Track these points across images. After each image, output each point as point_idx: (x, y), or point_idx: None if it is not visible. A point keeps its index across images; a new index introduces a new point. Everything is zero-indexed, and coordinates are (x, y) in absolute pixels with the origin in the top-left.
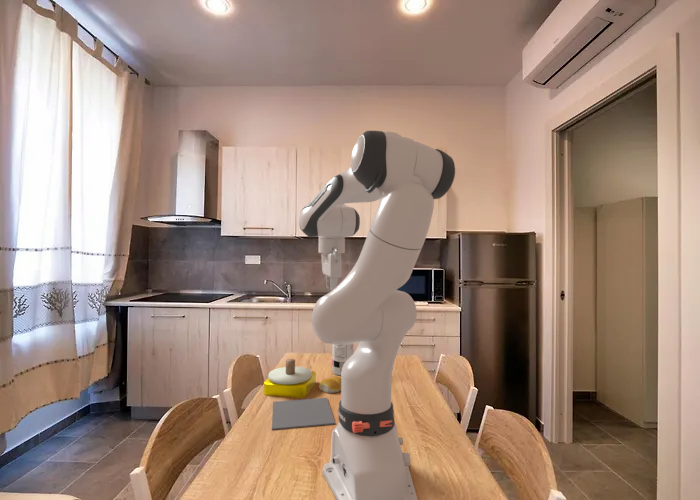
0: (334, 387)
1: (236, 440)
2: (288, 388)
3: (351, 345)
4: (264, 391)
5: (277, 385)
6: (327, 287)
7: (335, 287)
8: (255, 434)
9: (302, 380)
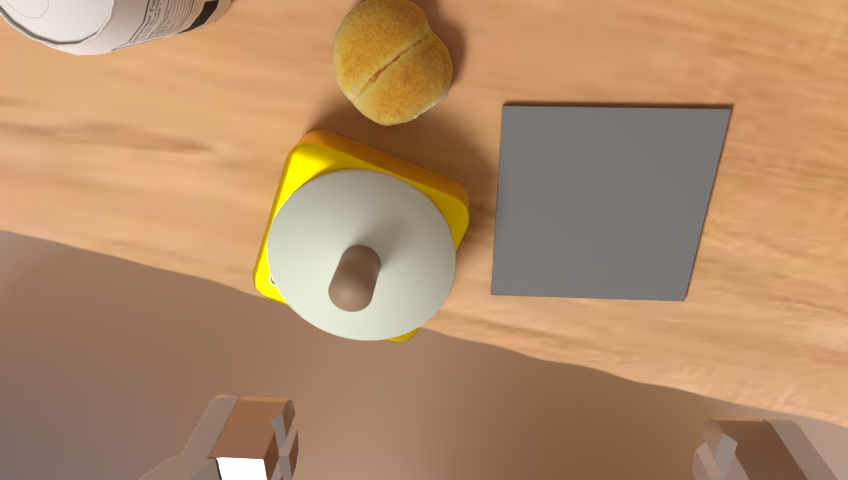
0: (449, 66)
1: (701, 375)
2: None
3: None
4: None
5: None
6: (294, 458)
7: (816, 473)
8: (689, 336)
9: (442, 219)
